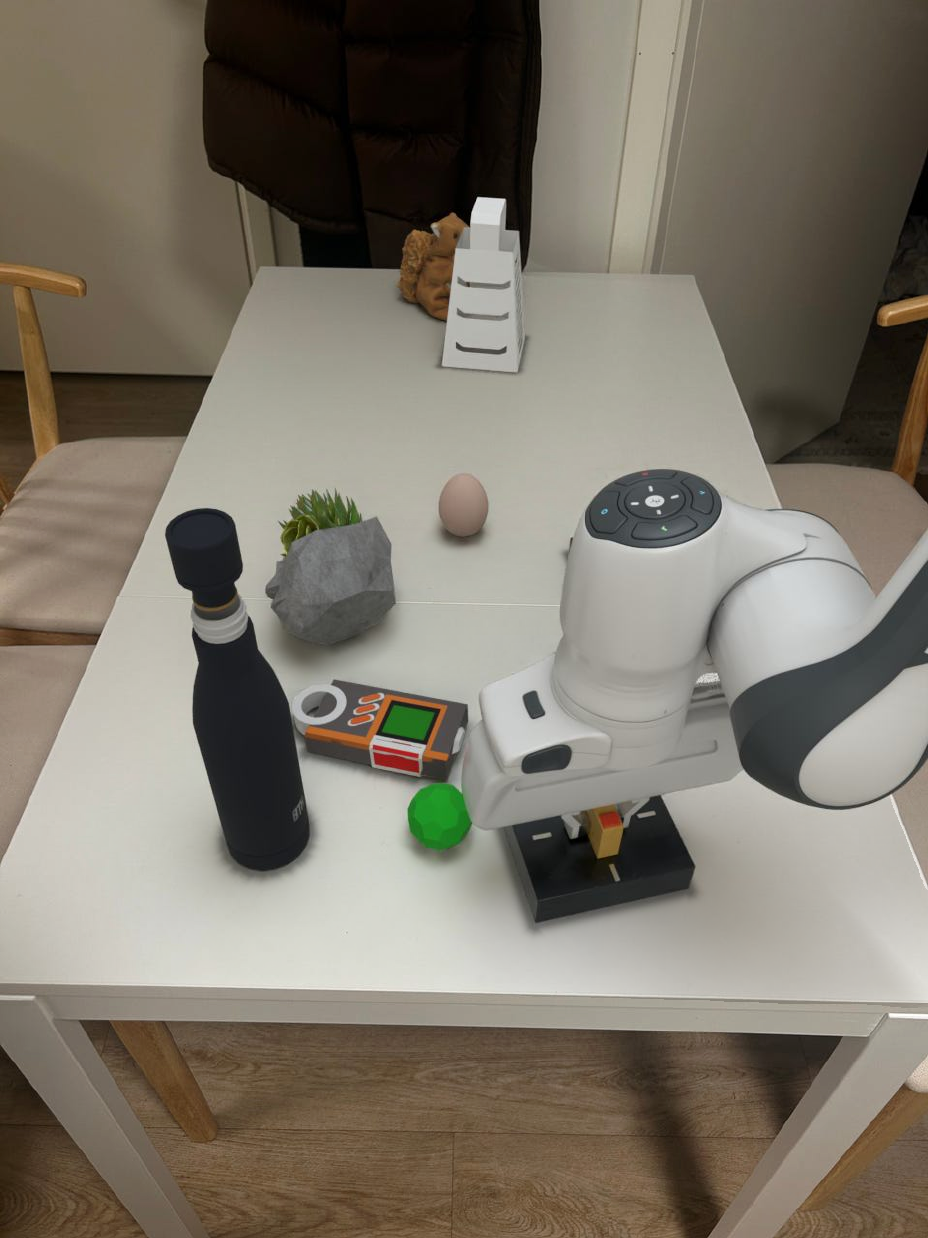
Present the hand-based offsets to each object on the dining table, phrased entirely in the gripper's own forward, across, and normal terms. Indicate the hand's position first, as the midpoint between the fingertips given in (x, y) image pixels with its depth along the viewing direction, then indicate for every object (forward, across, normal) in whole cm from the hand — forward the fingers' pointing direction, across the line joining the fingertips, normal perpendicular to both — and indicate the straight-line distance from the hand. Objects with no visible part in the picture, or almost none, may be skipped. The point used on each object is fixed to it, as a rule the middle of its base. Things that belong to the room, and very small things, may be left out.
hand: (595, 825), depth 70 cm
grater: (+3, -13, -81) cm, 82 cm away
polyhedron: (+3, +11, -4) cm, 12 cm away
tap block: (+3, 0, 0) cm, 3 cm away
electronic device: (+3, +14, -15) cm, 21 cm away
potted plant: (+3, +16, -32) cm, 36 cm away
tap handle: (0, 0, 0) cm, 0 cm away
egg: (+3, 0, -41) cm, 41 cm away
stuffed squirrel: (+3, -10, -98) cm, 99 cm away
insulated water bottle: (+3, +24, -7) cm, 25 cm away
